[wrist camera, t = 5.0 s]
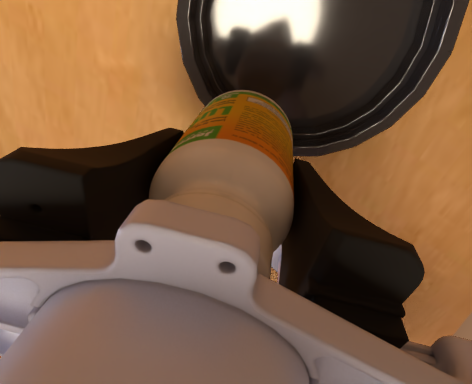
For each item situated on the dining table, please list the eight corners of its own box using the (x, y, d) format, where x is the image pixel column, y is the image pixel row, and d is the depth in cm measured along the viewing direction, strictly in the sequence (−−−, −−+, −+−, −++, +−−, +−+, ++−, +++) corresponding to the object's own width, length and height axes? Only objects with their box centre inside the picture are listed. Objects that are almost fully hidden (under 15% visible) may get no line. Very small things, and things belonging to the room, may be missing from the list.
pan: (480, 50, 18) (512, 59, 16) (276, 171, 25) (275, 191, 23) (367, -259, 12) (387, -326, 10) (146, 8, 20) (124, 10, 17)
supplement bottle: (237, 64, 14) (170, 150, 6) (313, 134, 15) (340, 280, 7) (179, 138, 17) (81, 265, 9) (248, 192, 18) (217, 344, 10)
